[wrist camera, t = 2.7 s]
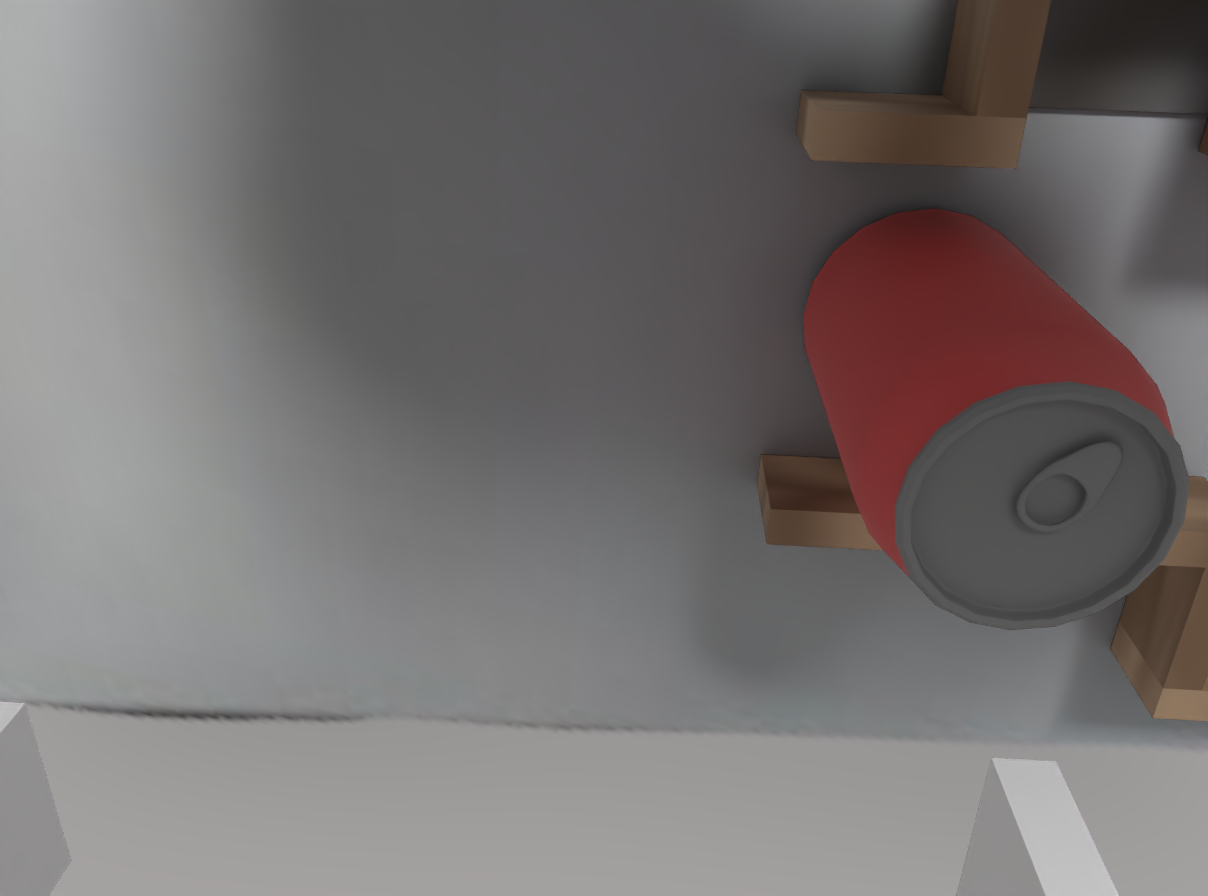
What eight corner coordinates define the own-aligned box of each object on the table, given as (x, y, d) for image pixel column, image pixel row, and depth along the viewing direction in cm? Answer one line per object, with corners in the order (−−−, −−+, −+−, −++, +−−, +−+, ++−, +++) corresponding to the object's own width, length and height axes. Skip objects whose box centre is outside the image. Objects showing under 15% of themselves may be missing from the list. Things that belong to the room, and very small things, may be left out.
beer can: (1073, 295, 30) (1295, 496, 20) (911, 450, 33) (1029, 703, 22) (911, 155, 29) (1056, 289, 18) (754, 329, 31) (799, 537, 21)
